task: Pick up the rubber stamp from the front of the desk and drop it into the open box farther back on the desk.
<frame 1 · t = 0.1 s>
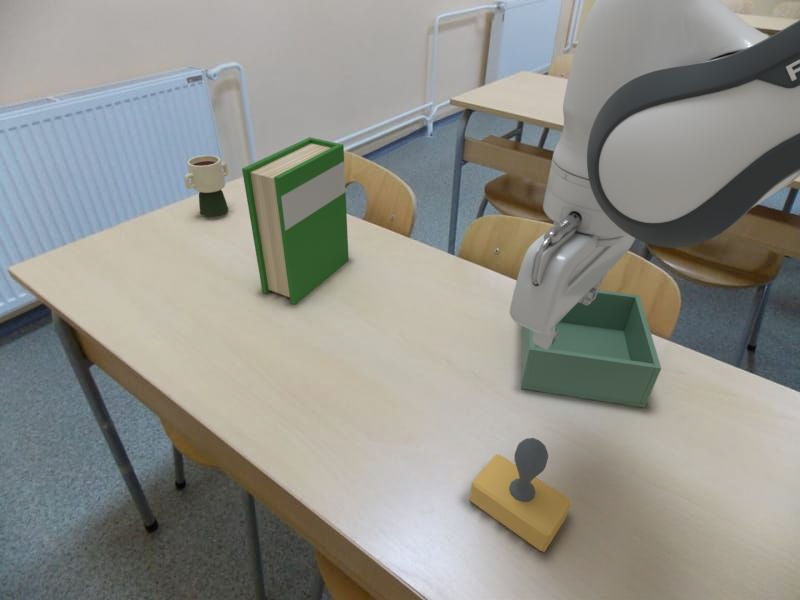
hand: (564, 320, 53), 23 cm above the table, tool pointing down, fingers open, 8 cm apart
character mug: (215, 214, 121), on the table
hardback book: (307, 276, 101), on the table
open box: (577, 358, 83), on the table
rubber stamp: (516, 510, 61), on the table
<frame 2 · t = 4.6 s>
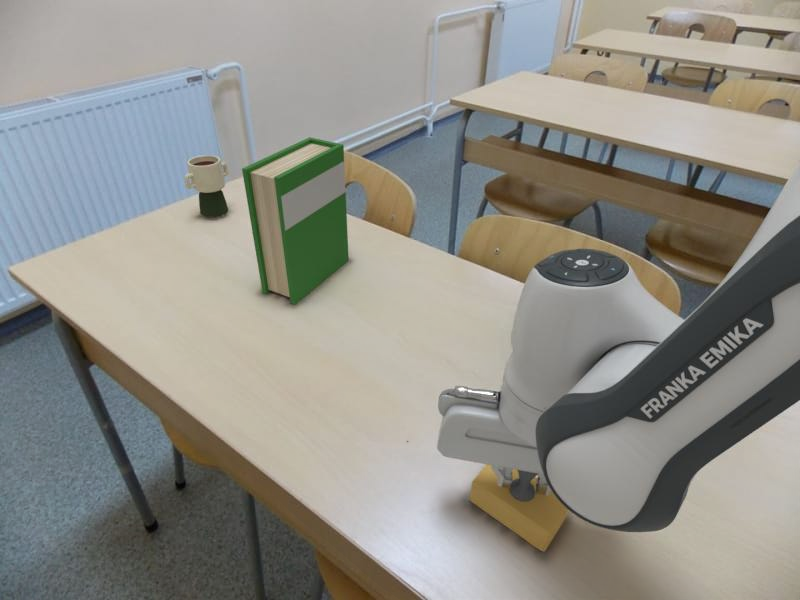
hand: (523, 486, 58), 5 cm above the table, tool pointing down, fingers closed on rubber stamp, 3 cm apart
rubber stamp: (516, 510, 61), on the table, touching gripper
everything else where it was.
when the fingers open (8 cm above the table, at t = 12.4 s): rubber stamp drops 3 cm, resting on open box.
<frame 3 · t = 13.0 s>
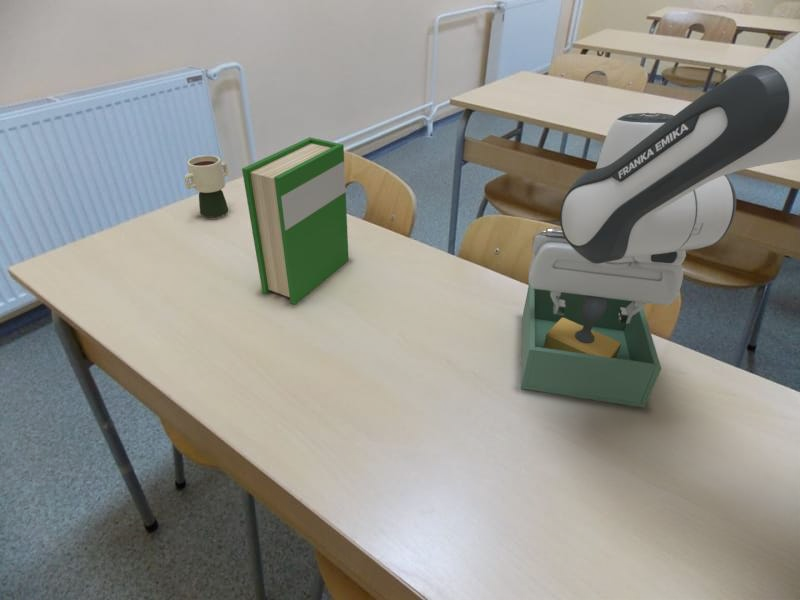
hand: (590, 316, 78), 9 cm above the table, tool pointing down, fingers open, 8 cm apart
rubber stamp: (578, 356, 82), point 1 cm above the table, touching open box
everything else where it was.
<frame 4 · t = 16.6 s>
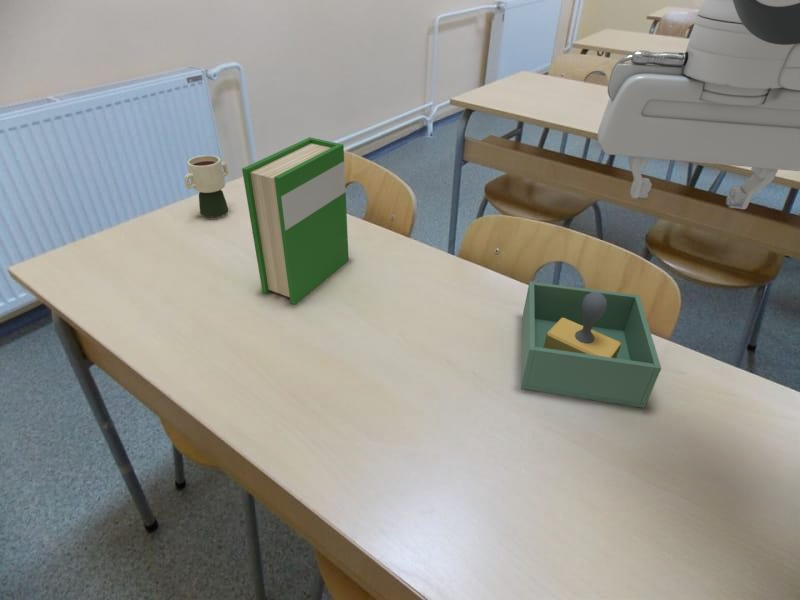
hand: (685, 201, 53), 33 cm above the table, tool pointing down, fingers open, 8 cm apart
nothing on the table moved.
at the end: rubber stamp inside the target area in the open box (0.1 cm from its centre), point 0.6 cm above the open box's base; the gripper is holding nothing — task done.
